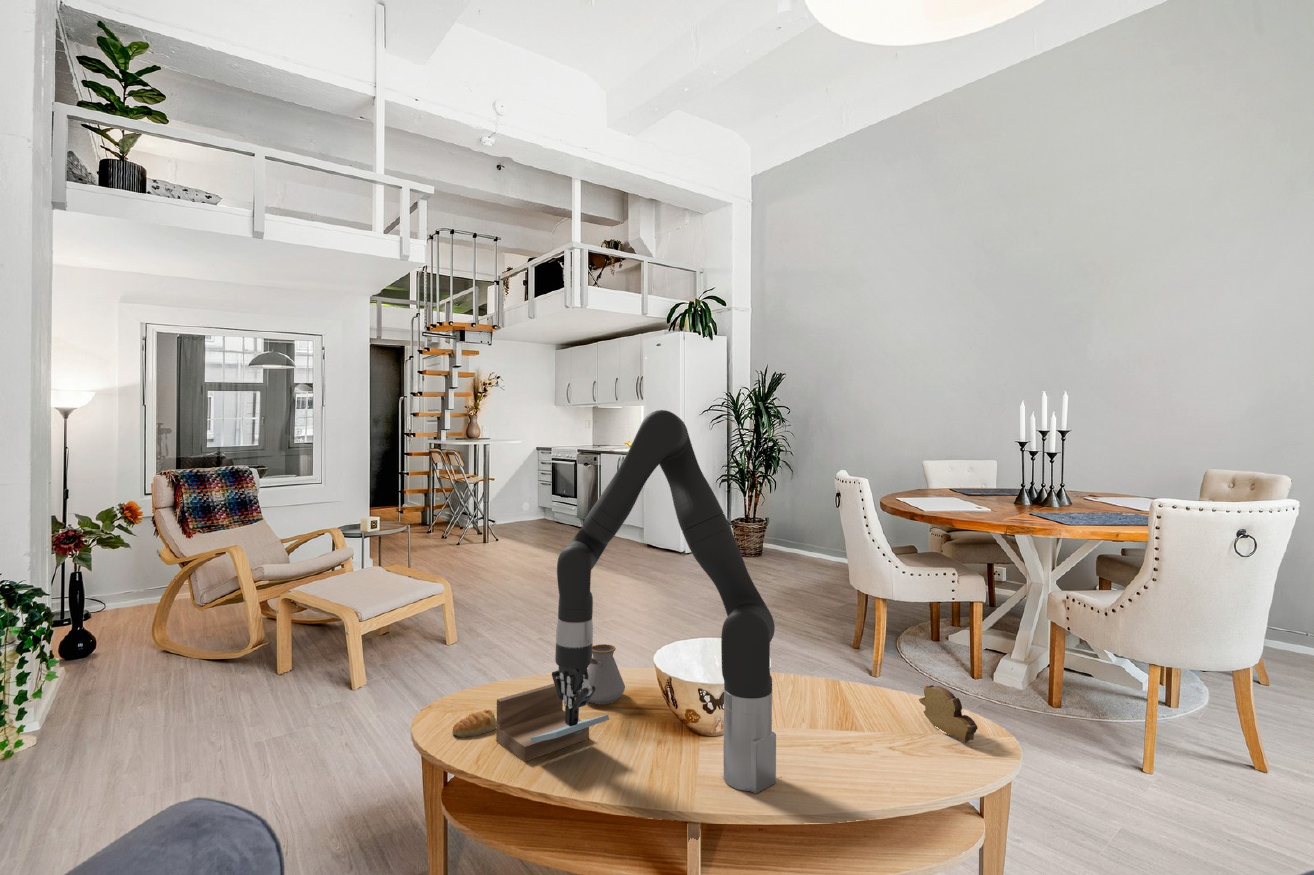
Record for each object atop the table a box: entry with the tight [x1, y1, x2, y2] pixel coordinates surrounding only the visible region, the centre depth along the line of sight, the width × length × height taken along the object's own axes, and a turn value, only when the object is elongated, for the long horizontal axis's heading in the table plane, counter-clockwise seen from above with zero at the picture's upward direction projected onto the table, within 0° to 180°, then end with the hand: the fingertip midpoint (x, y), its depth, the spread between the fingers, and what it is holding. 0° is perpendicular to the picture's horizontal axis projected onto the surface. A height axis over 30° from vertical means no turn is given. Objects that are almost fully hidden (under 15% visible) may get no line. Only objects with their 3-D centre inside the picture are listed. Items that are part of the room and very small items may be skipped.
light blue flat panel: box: [531, 714, 610, 743], centre depth 132 cm, size 2×13×10 cm
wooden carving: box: [918, 684, 979, 743], centre depth 145 cm, size 16×5×10 cm, turn 20°
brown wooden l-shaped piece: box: [495, 683, 590, 762], centre depth 140 cm, size 12×16×9 cm
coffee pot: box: [587, 643, 626, 705], centre depth 158 cm, size 21×12×15 cm, turn 171°
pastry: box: [451, 708, 497, 738], centre depth 144 cm, size 9×7×4 cm
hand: (571, 724), depth 132 cm, fingers closed
